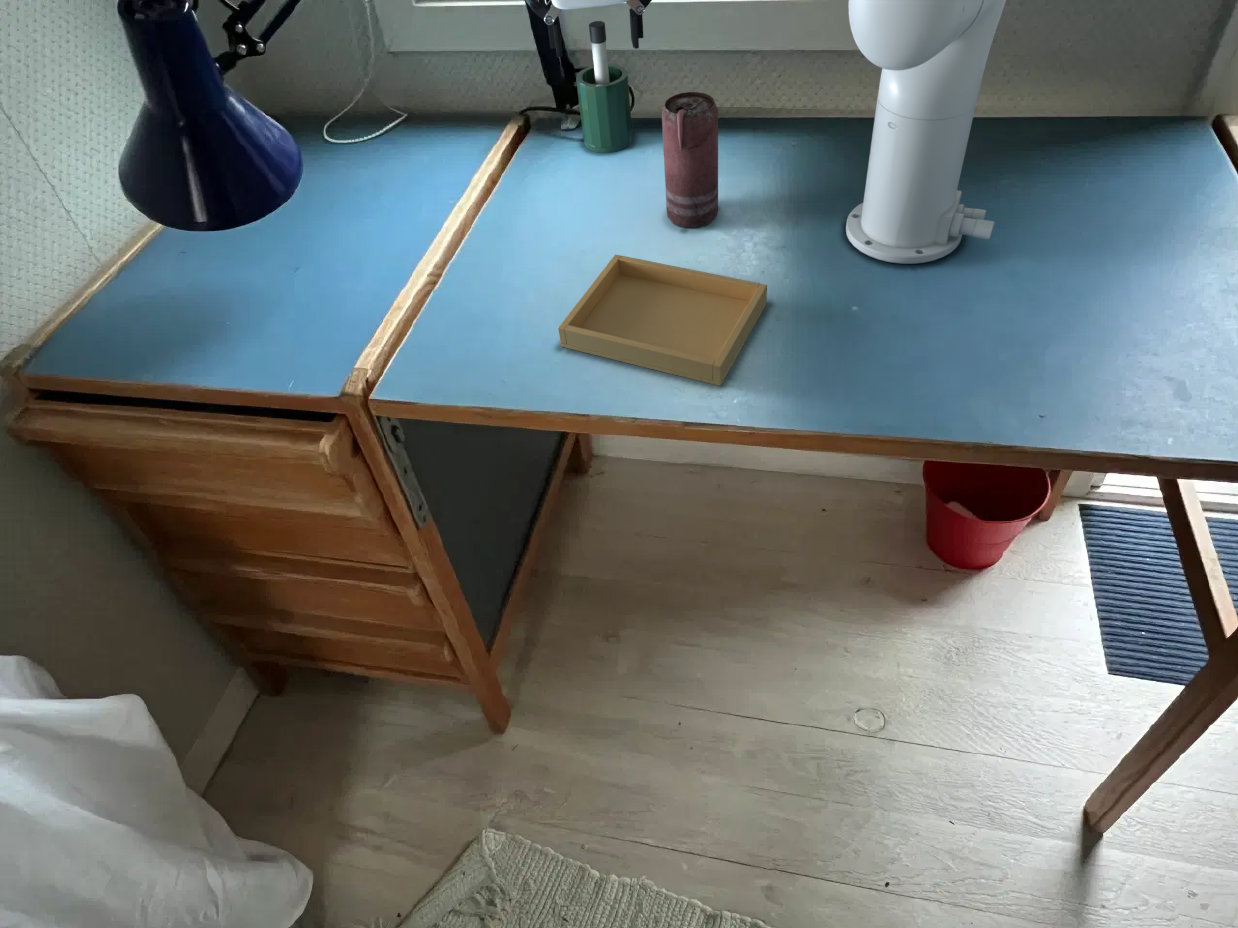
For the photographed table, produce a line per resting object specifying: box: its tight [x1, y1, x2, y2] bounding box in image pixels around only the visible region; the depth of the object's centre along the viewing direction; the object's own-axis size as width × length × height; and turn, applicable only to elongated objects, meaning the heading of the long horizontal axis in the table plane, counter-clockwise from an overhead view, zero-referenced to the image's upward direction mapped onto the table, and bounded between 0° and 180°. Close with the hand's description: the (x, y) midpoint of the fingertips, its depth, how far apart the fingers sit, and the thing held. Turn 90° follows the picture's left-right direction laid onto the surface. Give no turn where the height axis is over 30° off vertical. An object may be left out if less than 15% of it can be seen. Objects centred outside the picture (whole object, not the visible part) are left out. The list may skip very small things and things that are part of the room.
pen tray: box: [557, 253, 768, 387], centre depth 90 cm, size 18×14×2 cm
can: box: [661, 91, 719, 230], centre depth 100 cm, size 6×6×14 cm
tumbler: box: [575, 63, 633, 154], centre depth 116 cm, size 7×7×9 cm
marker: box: [588, 20, 610, 85], centre depth 113 cm, size 2×2×14 cm
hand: (597, 48), depth 110 cm, fingers open, 9 cm apart
